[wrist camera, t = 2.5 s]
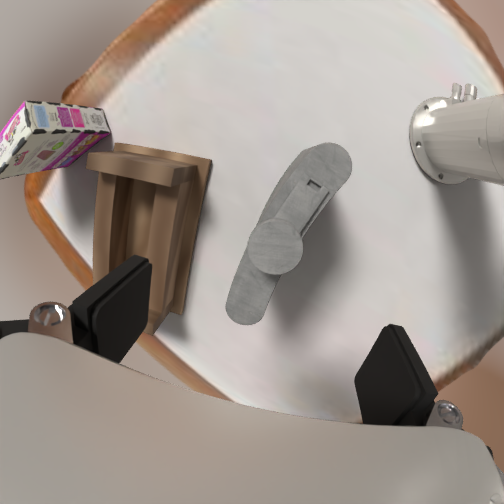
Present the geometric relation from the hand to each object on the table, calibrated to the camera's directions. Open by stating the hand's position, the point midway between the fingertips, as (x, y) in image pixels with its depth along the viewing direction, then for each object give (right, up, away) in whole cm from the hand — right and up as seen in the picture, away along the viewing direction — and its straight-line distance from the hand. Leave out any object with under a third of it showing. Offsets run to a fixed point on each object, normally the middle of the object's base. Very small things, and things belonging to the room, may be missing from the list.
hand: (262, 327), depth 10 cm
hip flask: (+4, +9, +27) cm, 29 cm away
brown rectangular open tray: (-16, +6, +30) cm, 35 cm away
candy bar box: (-27, +21, +27) cm, 44 cm away
